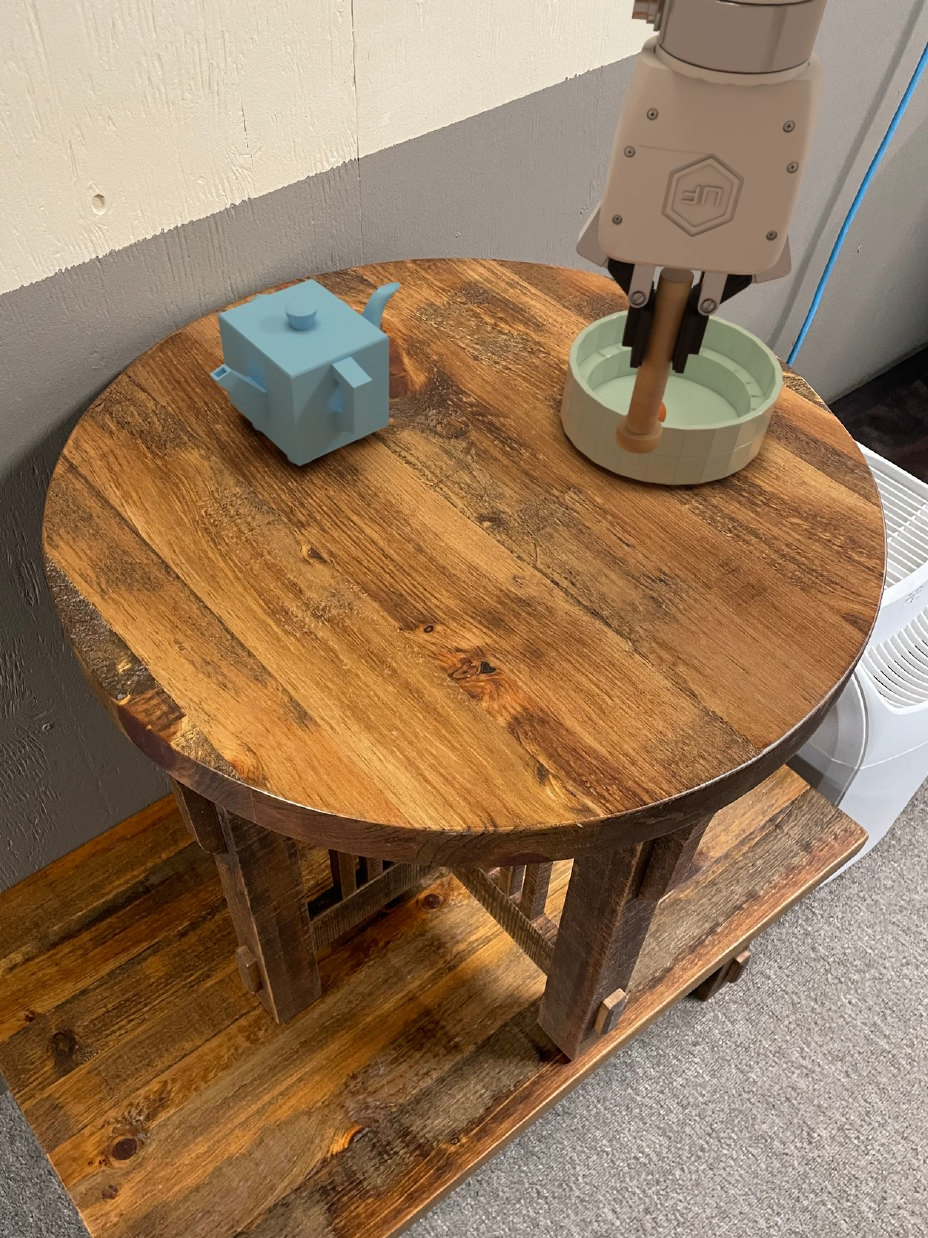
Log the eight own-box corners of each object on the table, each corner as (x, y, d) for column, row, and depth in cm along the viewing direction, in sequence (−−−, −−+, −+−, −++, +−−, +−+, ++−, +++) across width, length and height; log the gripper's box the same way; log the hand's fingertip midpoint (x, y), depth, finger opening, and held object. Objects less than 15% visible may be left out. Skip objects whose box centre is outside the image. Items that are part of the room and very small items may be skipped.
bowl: (758, 380, 90) (778, 318, 86) (763, 503, 80) (787, 441, 75) (568, 358, 92) (578, 297, 88) (550, 475, 82) (560, 414, 77)
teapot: (180, 419, 87) (157, 297, 78) (349, 349, 93) (345, 229, 84) (279, 517, 79) (265, 394, 70) (456, 433, 86) (464, 311, 77)
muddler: (660, 429, 69) (704, 263, 59) (657, 457, 67) (702, 290, 58) (616, 423, 69) (653, 257, 60) (612, 450, 68) (649, 283, 58)
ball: (663, 434, 85) (672, 398, 84) (658, 437, 83) (668, 400, 82) (628, 427, 86) (637, 391, 85) (622, 429, 84) (632, 392, 82)
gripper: (568, 38, 47) (525, 377, 62) (917, 66, 46) (787, 409, 60) (581, -16, 52) (538, 312, 66) (899, 8, 50) (782, 340, 65)
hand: (657, 356), depth 63 cm, fingers closed on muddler, 2 cm apart
